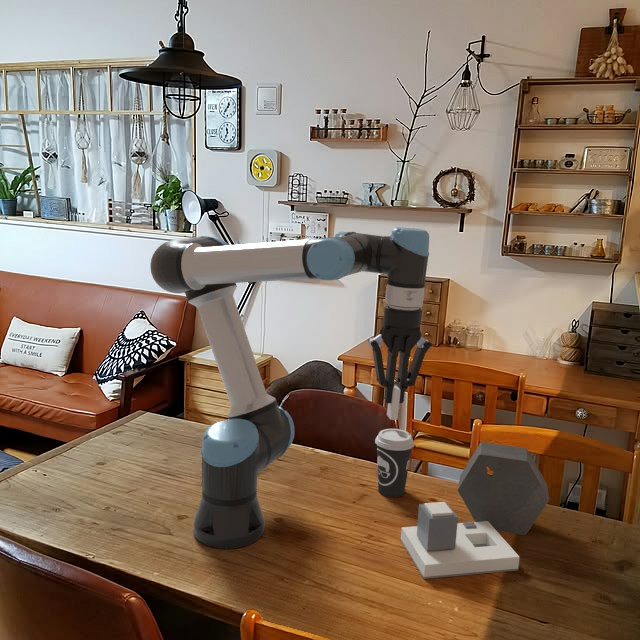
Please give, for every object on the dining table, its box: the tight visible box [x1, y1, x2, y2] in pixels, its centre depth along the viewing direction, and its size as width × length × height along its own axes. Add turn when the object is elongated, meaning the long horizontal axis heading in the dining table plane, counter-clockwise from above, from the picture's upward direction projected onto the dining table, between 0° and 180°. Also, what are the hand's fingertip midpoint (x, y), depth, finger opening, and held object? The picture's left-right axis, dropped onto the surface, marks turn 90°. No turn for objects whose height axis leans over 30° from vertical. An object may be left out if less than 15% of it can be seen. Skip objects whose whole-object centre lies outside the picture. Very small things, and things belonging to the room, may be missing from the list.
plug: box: [416, 501, 459, 551], centre depth 131 cm, size 6×6×11 cm
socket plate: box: [400, 521, 520, 580], centre depth 133 cm, size 20×14×3 cm
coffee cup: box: [374, 428, 415, 498], centre depth 159 cm, size 10×10×15 cm
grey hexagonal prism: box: [457, 441, 550, 536], centre depth 145 cm, size 17×8×21 cm
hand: (392, 417), depth 133 cm, fingers closed
